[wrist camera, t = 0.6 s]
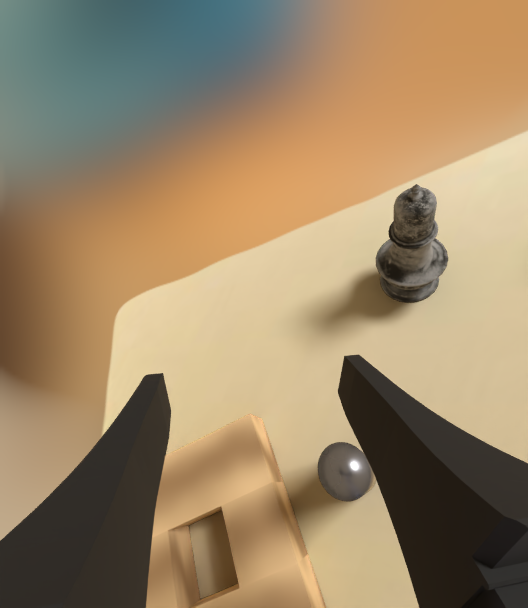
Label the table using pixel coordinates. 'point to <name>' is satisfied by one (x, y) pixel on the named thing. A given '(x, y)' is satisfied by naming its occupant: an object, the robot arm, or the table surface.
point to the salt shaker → (412, 248)
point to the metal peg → (345, 472)
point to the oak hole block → (230, 524)
